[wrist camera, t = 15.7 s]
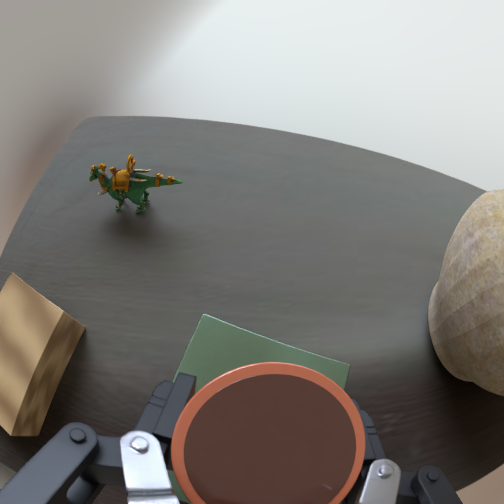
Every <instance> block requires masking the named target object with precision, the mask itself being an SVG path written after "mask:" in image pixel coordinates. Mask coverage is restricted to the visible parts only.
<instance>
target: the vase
mask: <svg viewBox="0 0 504 504" xmlns="http://www.w3.org/2000/svg"><path fill="white" fill-rule="evenodd" d="M428 324H429V331H430V336H431V340H432V343H433V346H434V349H435V351H436V354H437V356H438V358H439V359H440V361H441V363H442V364H443V366H444V367H445V368H446V369H447V370H448V371H449V373H451V374H452V375H454V376H455V377H456V378H458V379H461V380H463V381H470V382H474V383H475V384H477V385H478V386H480V387H481V388H483V389H485V390H487V391H489V392H492V393H495V394H497V395H501V396H504V189H497V190H493V191H488V192H486V193H484V194H483V195H481V196H480V197H479V198H478V199H477V200H475V201H474V202H473V204H472V205H471V206H470V207H469V208H468V209H467V211H466V212H465V214H464V215H463V217H462V218H461V220H460V221H459V223H458V225H457V227H456V229H455V231H454V233H453V235H452V237H451V239H450V241H449V243H448V246H447V249H446V252H445V256H444V260H443V264H442V268H441V272H440V277H439V281H438V282H437V283H436V285H435V287H434V289H433V291H432V294H431V298H430V301H429V308H428Z"/></svg>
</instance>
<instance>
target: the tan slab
mask: <svg viewBox="0 0 504 504" xmlns="http://www.w3.org/2000/svg"><path fill="white" fill-rule="evenodd" d="M84 330H85V327H84V326H83V325H82V324H80V323H79V322H78V321H76V320H75V319H74V318H72V317H71V316H70V315H68V314H67V313H66V312H65V311H63V310H62V309H60V308H59V307H57V306H56V305H55V304H53V303H52V302H50V301H49V300H48V299H46V298H45V297H43V296H42V295H41V294H39V293H38V292H37V291H35V290H34V289H33V288H31V287H30V286H29V285H28V284H26V283H25V282H24V281H22V280H21V279H20V278H19V277H17V276H16V275H15V274H14V273H13V272H12V273H11V275H10V276H9V278H8V280H7V282H6V283H5V285H4V287H3V289H2V290H1V292H0V425H1V426H2V427H3V428H4V429H5V430H6V431H7V432H8V434H9V435H10V436H39V433H40V430H41V428H42V425H43V422H44V419H45V417H46V414H47V411H48V409H49V406H50V404H51V401H52V399H53V396H54V394H55V392H56V389H57V387H58V385H59V382H60V380H61V378H62V375H63V373H64V371H65V369H66V367H67V364H68V362H69V360H70V358H71V356H72V354H73V352H74V350H75V348H76V346H77V344H78V342H79V340H80V338H81V336H82V334H83V332H84Z"/></svg>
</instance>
